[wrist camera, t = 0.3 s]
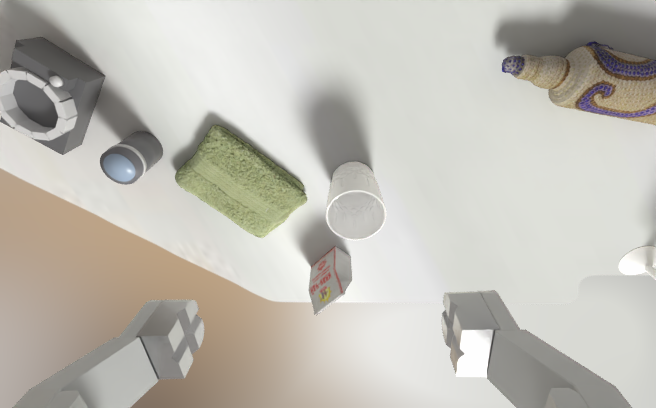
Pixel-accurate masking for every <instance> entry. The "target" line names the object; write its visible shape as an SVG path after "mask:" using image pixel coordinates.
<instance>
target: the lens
mask: <svg viewBox="0 0 656 408" xmlns="http://www.w3.org/2000/svg"><path fill="white" fill-rule="evenodd" d="M162 155H163V148H162V145H161V143H160V142H159V140H158V139H157V138H156V137H154V136H153V135H151V134H150V133H147V132H141V131H140V132H135V133H133V134H132V135H130V136H129V137H127V138H126V139H124V140H123V141H121V142H120V143H118V144H117V145H114V146H112V147H111V148H109V149H108V150H107V151H106V152H104V153H103V154H102V156H101V158H100V165H101V168H102V170H103V172H104V173H105V174H106V176H107V177H109V178H110V179H111V180H113V181H115V182H117V183H120V184H132V183H134V182H135V181H137V180H138V179H140V178H141V177H142V176H143V175H144V174H145V172H147V171H148V170H149V169H150V168H151V167H152V166H153V165H154V164H155V163H157V162H158V161H159V160H160V159H161V157H162Z"/></svg>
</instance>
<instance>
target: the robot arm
mask: <svg viewBox="0 0 656 408" xmlns="http://www.w3.org/2000/svg"><path fill="white" fill-rule="evenodd" d="M443 304H444V307H445V309H446V310H445V311H444V312H443V313H442V331H443V336H444V339H445V343H446V345H447V346H449V347H450V348H451V353H450V358H451V361H452V363H453V367H454V370H455V372H456V375H457V376H480V377H481V376H482V377H487V379H488V380H489V381H490V382H491V383H492V384H493V385H494V386H495V387H496V388H497V389H498V390H499V391H500V392H501V393H502V394H503V395H504V396H505V397H506V398H507V399H508V400H509V401H510V402H511V403H512V404H513V405H514V406H515V407H516V408H632V407H631V406H630V404H629V403H628V402H627V400H626V399H625V398H624V397H623V396H622V394H621V393H620V392H619V390H618V389H617V388H616V387H615V386H614V385H612V384H611V383H609V382H607V381H606V380H604V379H603V378H601V377H600V376H598V375H596V374H595V373H593V372H592V371H590V370H589V369H587V368H585V367H584V366H582V365H581V364H579V363H578V362H576V361H574V360H573V359H571V358H570V357H568V356H566V355H565V354H563V353H562V352H560V351H558V350H557V349H555V348H554V347H552V346H551V345H549V344H547V343H546V342H544V341H543V340H541V339H539V338H538V337H536V336H535V335H533V334H532V333H530V332H528V331H527V330H520V328H519V327H518V325H517V324H516V322H515V321H514V319H513V317H512V315H511V314H510V312H509V310H508V309H507V307H506V306H505V304H504V302H503V301H502V299H501V298H500V296H499V294H498V293H497V292H496V291H495V290H492V291H478V292H449V293H445V294H444V298H443ZM197 311H198V306H197V303H196V301H194V300H150V301H148V302H146V304H145V305H144V306H143V307H142V308H141V310H140V311H139V312H138V314H137V315H136V316H135V317H134V319H133V320H132V321H131V322H130V324H129V325H128V326H127V328H126V329H125V330H124V331H123V333H122V334H121V335H120V336H119V338H113V339H111V340H109V341H108V342H106V343H105V344H103V345H101V346H100V347H98V348H96V349H95V350H93V351H91V352H90V353H88V354H87V355H85V356H84V357H82V358H80V359H78V360H77V361H75V362H73V363H72V364H70V365H69V366H67V367H65V368H64V369H62V370H60V371H59V372H57V373H56V374H54V375H52V376H51V377H49V378H47V379H46V380H44V381H42V382H41V383H39V384H38V385H36V386H34V387H33V388H31V389H29V391H28V392H27V393H26V394H25V395H24V396H23V397H22V398H21V399H20V400H19V401H18V402H17V404H16V405H15V406H14V407H13V408H130V407H131V406H132V405H133V404H134V403H135V402H136V401H137V400H138V399H139V398H141V396H143V395H144V394H145V393H146V392H147V391H148V390H149V389H150V388H151V387H152V386H153V385H154V384H156V383H157V382H158V379H181V378H185V376H186V374H187V372H188V370H189V368H190V366H191V364H192V362H193V357H192V353H194V352H195V351H196V350H198V349H199V347H200V345H201V343H202V341H203V336H204V324H203V321H202V319H201V318H200V317H199V316H197V315H196V313H197Z"/></svg>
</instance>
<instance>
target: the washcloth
mask: <svg viewBox="0 0 656 408" xmlns="http://www.w3.org/2000/svg"><path fill="white" fill-rule="evenodd" d="M198 146H199V147H198V151H197V152H196V153H195V155H194V156H193V158H192V159H190V160H188V161H187V162H186V163H185V165H183V166H182V167H181V168H180V169H179V170H178V171H177V173H176V175H175V179H176V182H177V184H178V185H179V186H180V187H181V188H183V189H185V190H186V191H188V192H190V193H192V194H193V195H195V196H197V197H198V198H199V199H201V200H202V201H204V202H206V203H207V204H208V205H210V206H211V207H213V208H214V209H216V210H217V211H218V212H220V213H222V214H223V215H225V216H226V217H228V218H229V219H231V220H232V221H233V222H234V223H236V224H237V225H239V226H240V227H241V228H243V229H244V230H246V231H247V232H249V233H251V234H253V235H255V236H257V237H260V238H264V237H265V236H266V235H267V234H268V233H269V232H271V231H272V230H274V229H275V228H276V227H278V226H279V225H280V224H282V223H283V222H284V221H285V220H286V219H287V218H288V217H289V215H290V214H291V213H292V212H293V211H294V210H295V209H297V208H298V207H300V206H302V205H303V204H305V203H306V201H307V197H306V194H305V193H304V192H302V190H303V188H304V186H303V184H301V182H299V181H298V180H296V179H295V178H294V177H293V176H291V175H289V174H288V173H287V172H286V171H285V170H283V169H281V168H280V167H278V166H277V165H275V164H274V162H273V161H271V160H270V159H268V158H267V157H265V156H264V155H262V154H260V152H258V151H257V150H256V149H253V147H251V145H249V144H248V143H245V142H244V141H243V140H241V139H240V138H238V137H237V136H236V135H234V134H232V133H231V132H229V131H228V130H227V129H225V128H224V127H220V126H218V125H213V126H212V127H211V129H210V130H209V133H208V134H207V135H206V137H204V141H203V142H201V143H200V145H198Z"/></svg>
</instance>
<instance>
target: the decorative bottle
mask: <svg viewBox="0 0 656 408" xmlns="http://www.w3.org/2000/svg"><path fill="white" fill-rule="evenodd" d="M593 44H596V46H594V45H593ZM599 45H600V48H599V47H597V46H599ZM502 72H505V73H506V72H508V73H511V74H512V75H514V77H516V78H518V79H523V80H528V81H531V82H532V83H533V84H534V85H536V86H538V87H540V88H545V89H549V98H550V99H551V101H552V102H553V103H554V104H555V105H557V106H561V107H565V108H572V109H577V110H581V111H587V112H591V113H595V114H601V115H607V116H612V117H617V118H622V119H627V120H632V121H638V122H643V123H648V124H653V125H656V60H651V59H648V58H645V57H639V56H636V55H632V54H626V53H622V52H619V51H614V50H613V48H610V47H609V46H608V45H602V44H598V43H597V42H589V43H588V44H587V45H586V46H581V47H578V48H576V49H574V50H573V51H571V52H570V53H569V54H568V55H567V56H566V57H565V58H563V57H559V56H541V57H536V56H533V55H522V56H510V57H507V58H505V59H504V60H503V63H502Z"/></svg>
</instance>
